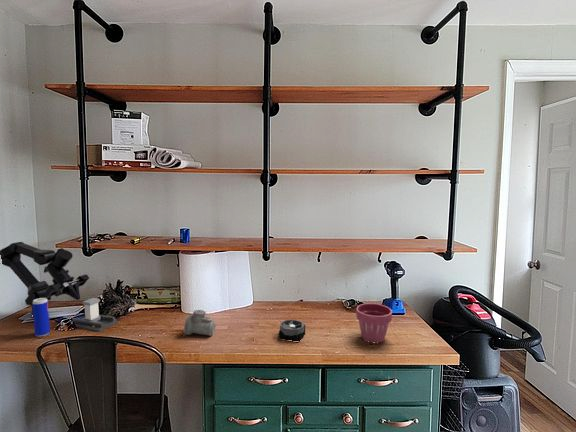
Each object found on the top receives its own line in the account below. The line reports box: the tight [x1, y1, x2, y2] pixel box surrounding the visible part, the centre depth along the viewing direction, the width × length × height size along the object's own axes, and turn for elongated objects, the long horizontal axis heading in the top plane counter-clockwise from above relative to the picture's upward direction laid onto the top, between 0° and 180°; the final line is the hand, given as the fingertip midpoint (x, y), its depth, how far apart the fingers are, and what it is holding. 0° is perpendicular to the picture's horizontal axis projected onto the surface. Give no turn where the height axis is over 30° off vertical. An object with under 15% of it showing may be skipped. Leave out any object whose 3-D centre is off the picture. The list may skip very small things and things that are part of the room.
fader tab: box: [82, 297, 101, 321], centre depth 155 cm, size 5×5×9 cm
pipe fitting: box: [183, 309, 216, 337], centre depth 147 cm, size 12×8×10 cm
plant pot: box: [355, 302, 393, 344], centre depth 144 cm, size 14×14×13 cm
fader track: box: [72, 314, 118, 333], centre depth 155 cm, size 16×10×3 cm, turn 73°
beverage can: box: [32, 298, 51, 338], centre depth 144 cm, size 5×5×15 cm
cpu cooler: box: [278, 319, 306, 342], centre depth 146 cm, size 10×6×10 cm
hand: (78, 299), depth 157 cm, fingers closed
